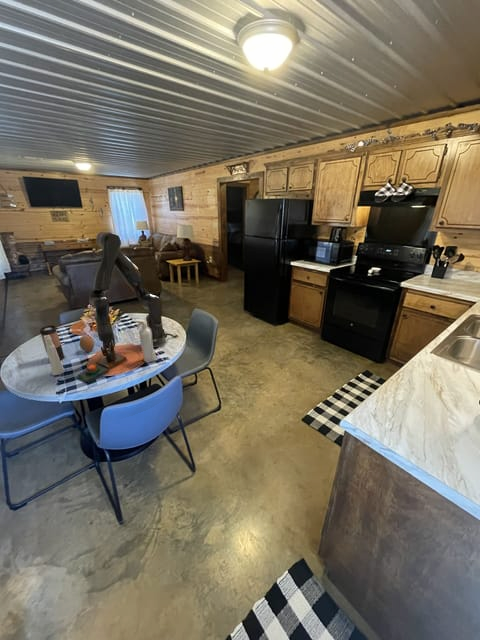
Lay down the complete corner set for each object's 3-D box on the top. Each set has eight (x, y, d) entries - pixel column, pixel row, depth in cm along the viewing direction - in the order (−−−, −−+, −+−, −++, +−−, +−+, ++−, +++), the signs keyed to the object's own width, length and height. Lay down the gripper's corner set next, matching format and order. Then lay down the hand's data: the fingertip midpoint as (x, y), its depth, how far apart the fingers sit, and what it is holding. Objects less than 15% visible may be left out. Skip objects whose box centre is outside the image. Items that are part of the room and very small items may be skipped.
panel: (115, 356, 157) (115, 352, 156) (127, 360, 152) (126, 356, 151) (97, 365, 147) (96, 361, 146) (108, 370, 143) (107, 366, 142)
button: (93, 366, 140) (92, 363, 139) (97, 368, 138) (96, 365, 137) (86, 370, 137) (86, 367, 136) (91, 372, 135) (90, 369, 135)
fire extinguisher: (153, 365, 148) (147, 324, 138) (138, 359, 153) (131, 320, 143) (162, 359, 153) (156, 320, 143) (147, 354, 159) (141, 316, 149)
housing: (98, 367, 145) (96, 361, 144) (108, 372, 141) (106, 366, 140) (78, 377, 137) (76, 371, 135) (88, 383, 132) (87, 376, 131)
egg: (79, 352, 161) (74, 336, 157) (90, 347, 167) (86, 331, 163) (87, 355, 158) (83, 339, 154) (98, 349, 164) (94, 334, 160)
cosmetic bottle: (53, 370, 143) (41, 334, 134) (65, 368, 145) (54, 332, 136) (50, 376, 138) (38, 339, 129) (64, 373, 140) (52, 337, 131)
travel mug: (67, 357, 156) (58, 326, 148) (55, 363, 149) (45, 331, 142) (58, 354, 158) (49, 324, 151) (46, 361, 152) (35, 330, 144)
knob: (108, 357, 151) (106, 349, 149) (117, 356, 151) (115, 348, 149) (105, 361, 146) (103, 353, 144) (114, 361, 147) (112, 353, 145)
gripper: (107, 336, 136) (113, 364, 142) (116, 325, 149) (122, 351, 155) (92, 337, 135) (99, 365, 142) (103, 325, 148) (109, 351, 155)
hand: (111, 357), depth 148 cm, fingers closed on knob, 5 cm apart
